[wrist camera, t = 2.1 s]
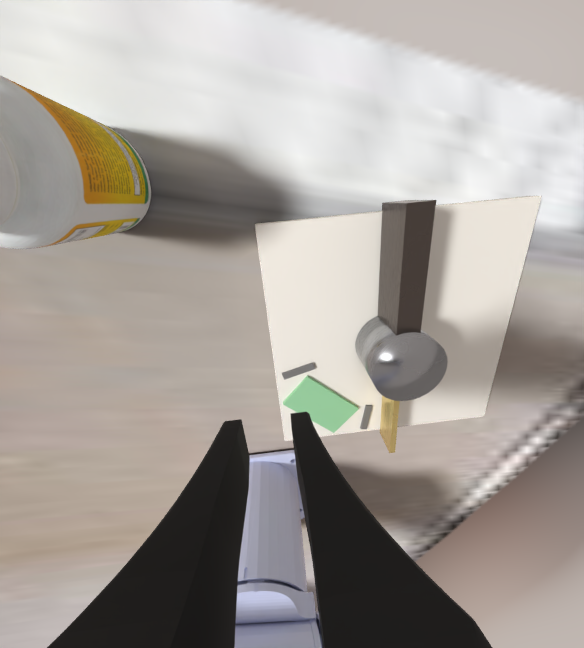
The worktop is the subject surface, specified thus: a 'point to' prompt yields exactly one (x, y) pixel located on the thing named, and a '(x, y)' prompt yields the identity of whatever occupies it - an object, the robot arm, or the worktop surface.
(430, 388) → the dial pointer
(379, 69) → the worktop surface
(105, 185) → the supplement bottle
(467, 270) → the board
